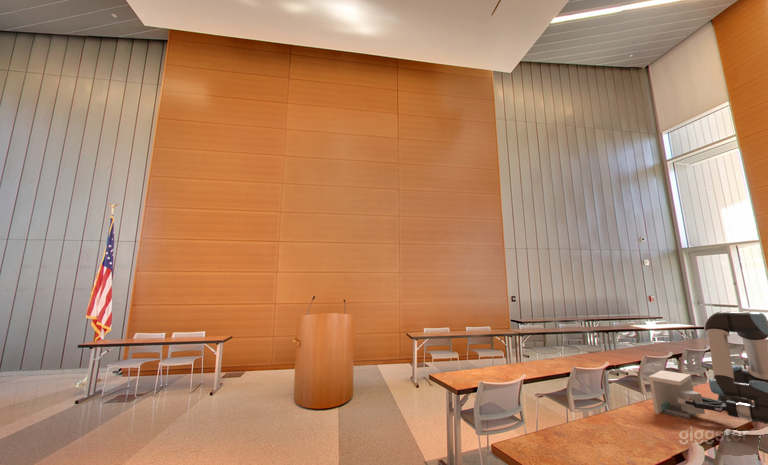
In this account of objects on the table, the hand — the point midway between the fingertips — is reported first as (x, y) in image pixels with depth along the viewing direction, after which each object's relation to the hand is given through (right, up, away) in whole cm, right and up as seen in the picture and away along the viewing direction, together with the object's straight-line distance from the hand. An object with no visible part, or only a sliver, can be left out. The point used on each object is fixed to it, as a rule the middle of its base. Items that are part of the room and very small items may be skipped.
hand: (680, 398), depth 176 cm
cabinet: (-1, -9, +1) cm, 9 cm away
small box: (+3, -5, -5) cm, 8 cm away
